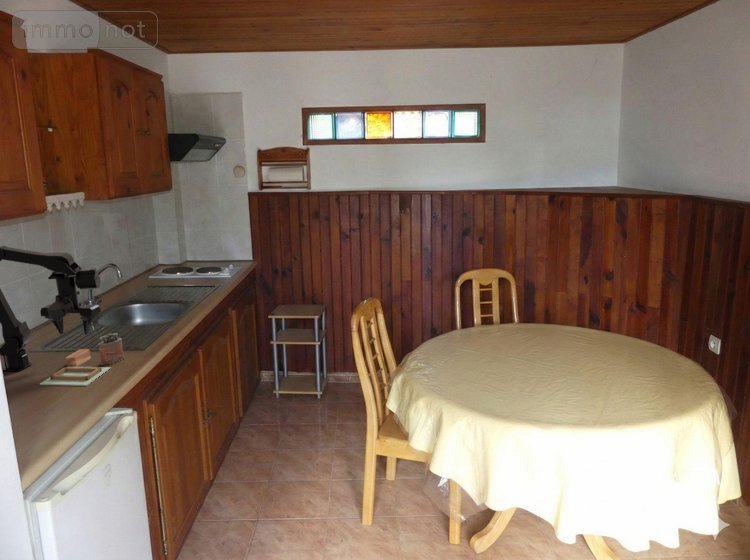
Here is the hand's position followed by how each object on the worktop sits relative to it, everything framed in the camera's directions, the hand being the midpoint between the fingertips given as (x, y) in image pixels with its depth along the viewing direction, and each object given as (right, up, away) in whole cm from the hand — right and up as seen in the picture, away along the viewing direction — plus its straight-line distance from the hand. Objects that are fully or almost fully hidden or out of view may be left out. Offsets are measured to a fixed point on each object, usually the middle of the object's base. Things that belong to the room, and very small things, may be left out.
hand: (74, 334), depth 200 cm
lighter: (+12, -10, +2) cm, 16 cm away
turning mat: (+6, -13, -10) cm, 17 cm away
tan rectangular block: (0, -10, +3) cm, 11 cm away
